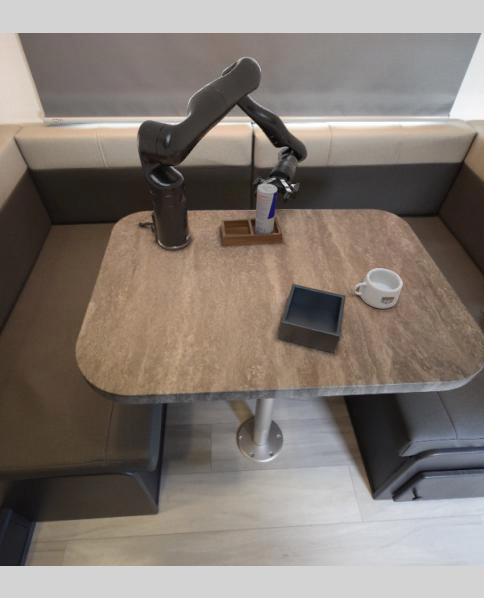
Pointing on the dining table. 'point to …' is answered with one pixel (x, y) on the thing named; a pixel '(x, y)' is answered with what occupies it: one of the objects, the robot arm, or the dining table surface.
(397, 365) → the dining table surface
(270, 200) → the beverage can
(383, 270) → the mug
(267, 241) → the wooden divided tray
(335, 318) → the dark gray square box
